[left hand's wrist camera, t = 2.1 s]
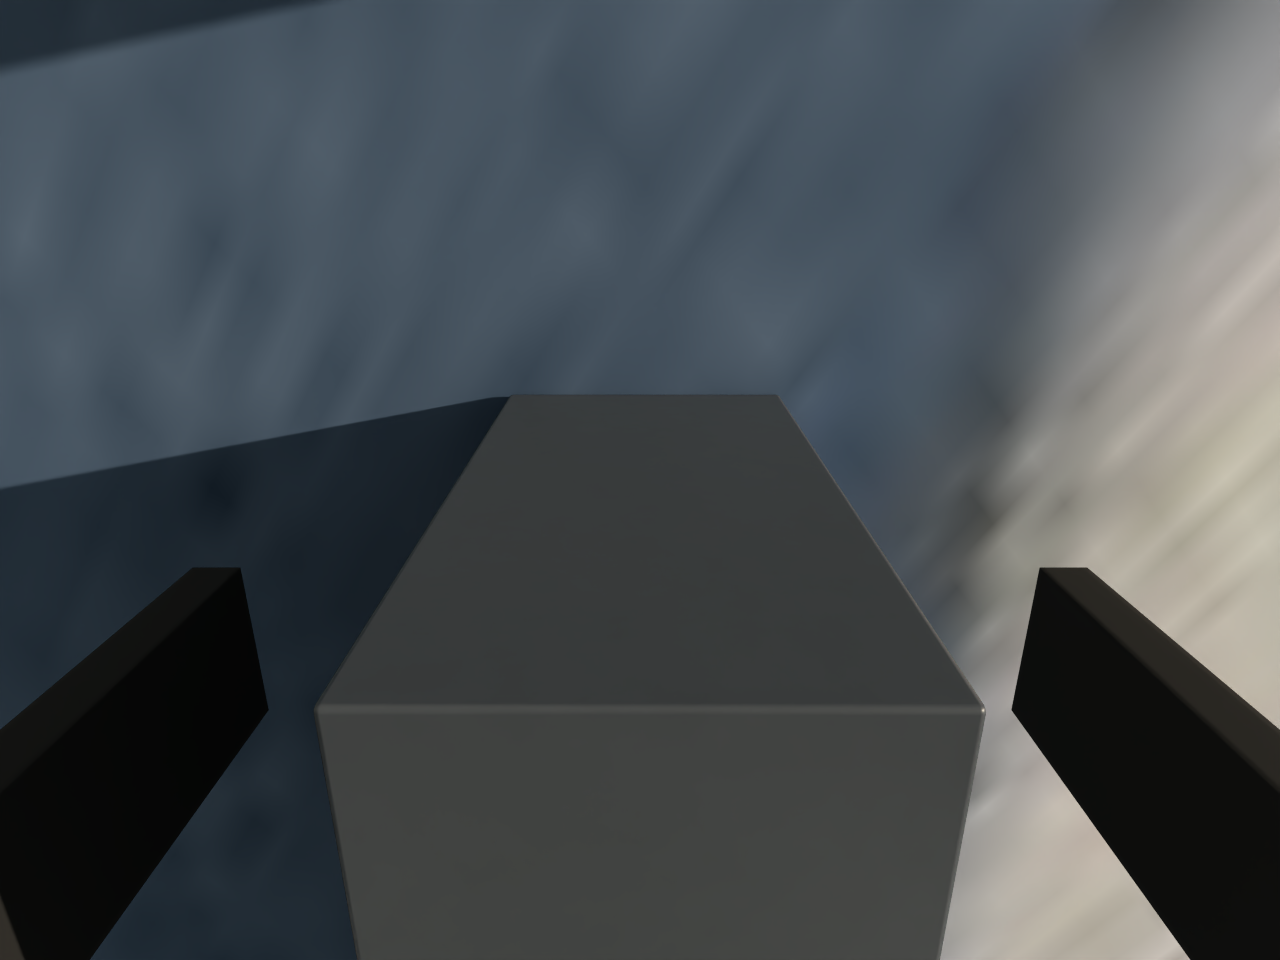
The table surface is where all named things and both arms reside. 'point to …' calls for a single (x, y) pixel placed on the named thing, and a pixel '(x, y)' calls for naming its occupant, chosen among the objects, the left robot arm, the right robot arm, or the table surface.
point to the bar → (648, 707)
